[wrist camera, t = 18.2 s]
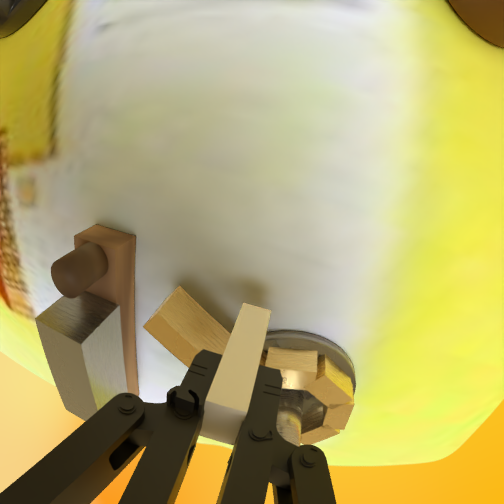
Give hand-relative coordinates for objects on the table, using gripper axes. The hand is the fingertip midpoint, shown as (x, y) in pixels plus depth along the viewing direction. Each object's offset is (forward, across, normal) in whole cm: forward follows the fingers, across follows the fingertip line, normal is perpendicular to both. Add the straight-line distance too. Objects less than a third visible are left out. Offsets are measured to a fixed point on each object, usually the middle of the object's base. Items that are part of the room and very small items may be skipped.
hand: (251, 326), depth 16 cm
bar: (+1, -11, -7) cm, 13 cm away
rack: (+3, -11, -7) cm, 13 cm away
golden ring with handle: (+2, +1, -5) cm, 6 cm away
